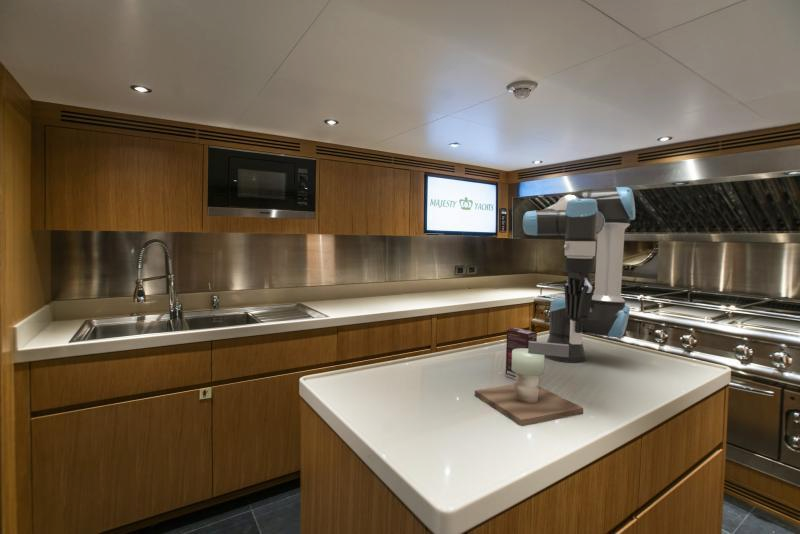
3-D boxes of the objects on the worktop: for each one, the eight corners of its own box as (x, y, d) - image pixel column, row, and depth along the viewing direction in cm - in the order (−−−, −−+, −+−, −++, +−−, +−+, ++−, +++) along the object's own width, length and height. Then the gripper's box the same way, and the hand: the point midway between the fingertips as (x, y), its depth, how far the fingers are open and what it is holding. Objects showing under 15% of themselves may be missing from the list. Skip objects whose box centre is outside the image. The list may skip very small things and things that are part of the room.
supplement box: (536, 381, 125) (538, 332, 124) (526, 384, 123) (528, 333, 122) (514, 373, 132) (515, 327, 131) (504, 376, 130) (506, 328, 129)
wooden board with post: (474, 395, 113) (475, 364, 112) (530, 386, 120) (531, 357, 120) (521, 425, 94) (522, 389, 94) (583, 413, 102) (584, 379, 101)
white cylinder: (510, 373, 104) (511, 343, 103) (512, 364, 112) (513, 336, 111) (568, 380, 100) (570, 349, 99) (565, 370, 108) (567, 341, 107)
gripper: (555, 255, 112) (551, 337, 114) (577, 258, 99) (573, 350, 101) (580, 256, 112) (577, 337, 114) (606, 258, 99) (602, 350, 101)
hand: (575, 343), depth 107 cm, fingers closed
